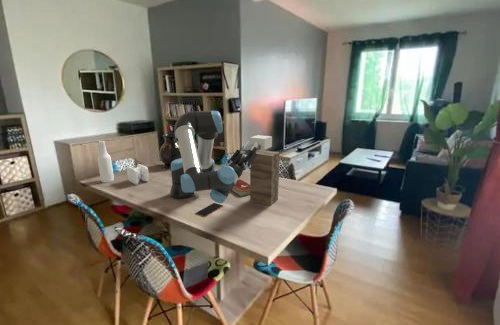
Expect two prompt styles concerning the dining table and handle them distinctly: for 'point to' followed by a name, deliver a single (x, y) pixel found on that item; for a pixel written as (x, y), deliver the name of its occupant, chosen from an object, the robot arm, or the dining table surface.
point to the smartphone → (209, 210)
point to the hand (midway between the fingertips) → (252, 143)
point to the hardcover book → (241, 188)
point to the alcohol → (105, 164)
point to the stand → (264, 177)
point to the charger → (262, 142)
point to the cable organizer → (137, 174)
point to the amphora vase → (169, 150)
